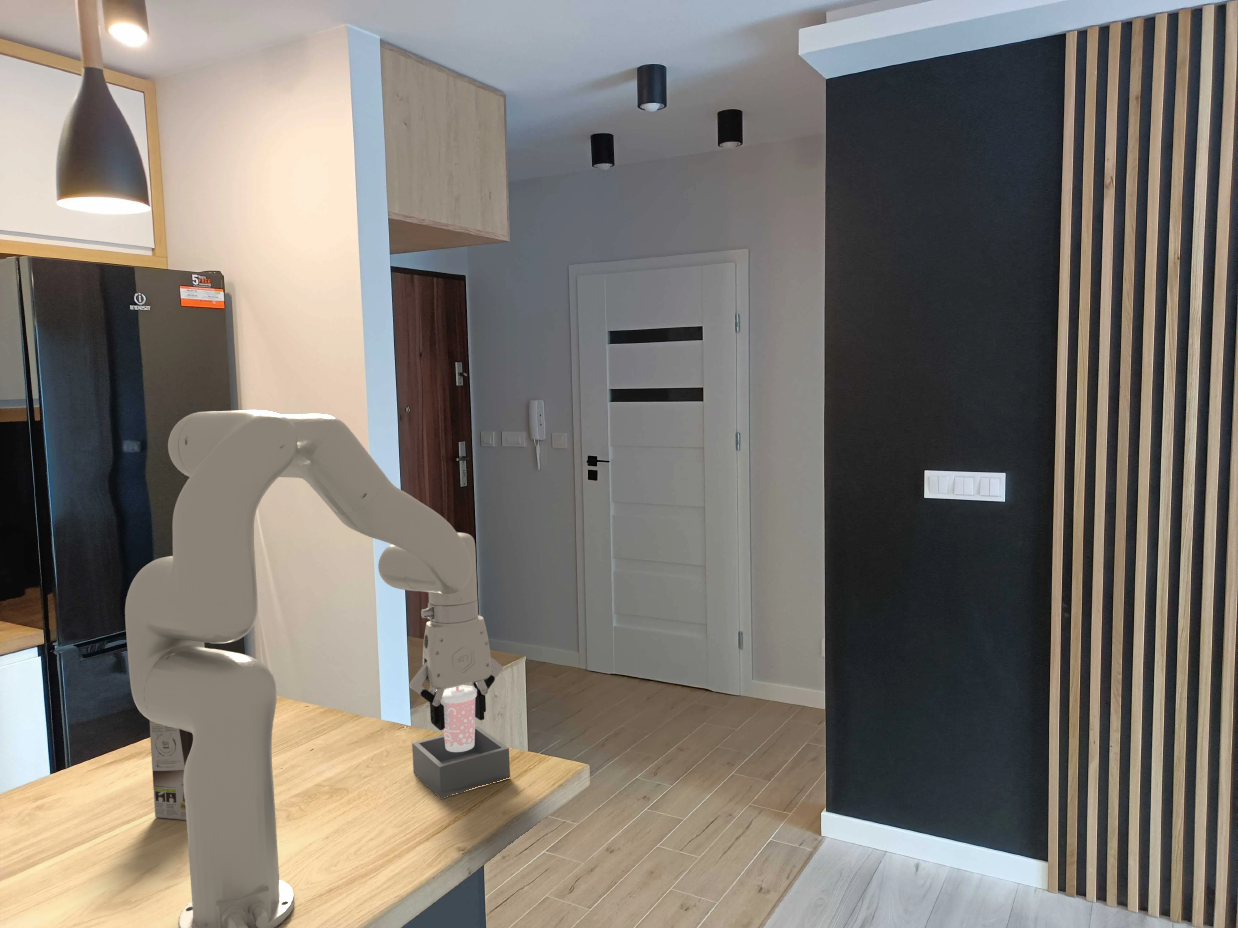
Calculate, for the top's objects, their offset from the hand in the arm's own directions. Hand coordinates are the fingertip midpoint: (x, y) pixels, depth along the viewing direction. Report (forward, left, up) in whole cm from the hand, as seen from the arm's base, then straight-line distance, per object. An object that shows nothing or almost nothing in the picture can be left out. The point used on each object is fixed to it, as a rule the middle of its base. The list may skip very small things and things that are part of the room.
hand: (458, 721), depth 141 cm
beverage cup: (0, 0, -4) cm, 4 cm away
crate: (0, 0, -9) cm, 9 cm away
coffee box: (+15, +37, -9) cm, 41 cm away
